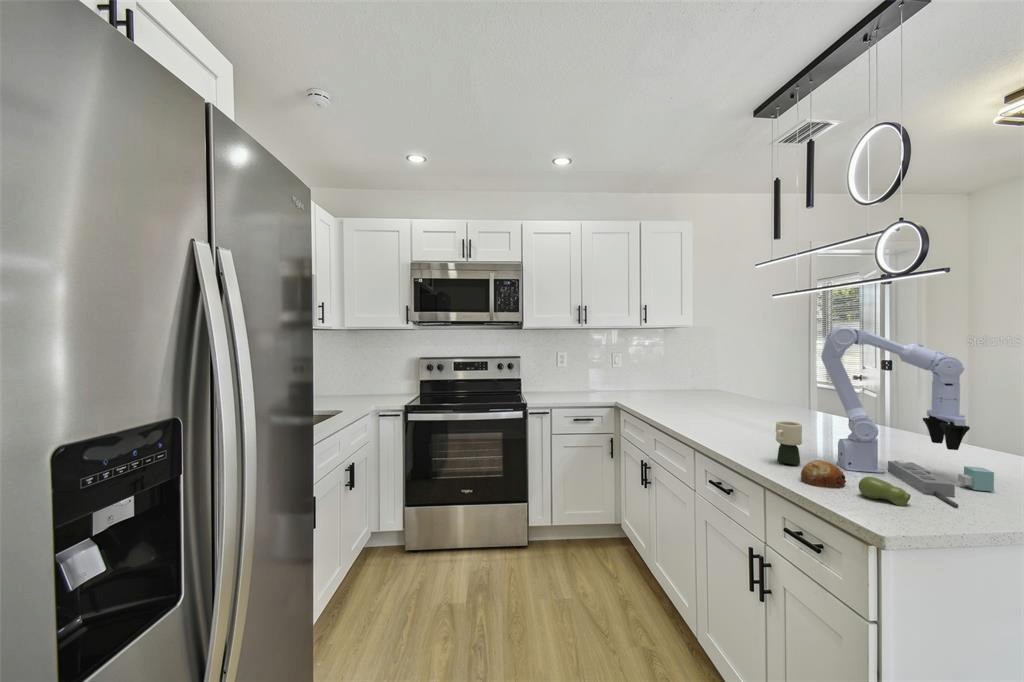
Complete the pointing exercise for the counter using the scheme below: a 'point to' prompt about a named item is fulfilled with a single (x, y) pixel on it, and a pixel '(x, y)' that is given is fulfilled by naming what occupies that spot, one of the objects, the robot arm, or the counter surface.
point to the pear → (883, 491)
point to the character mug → (788, 441)
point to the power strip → (923, 480)
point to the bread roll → (823, 474)
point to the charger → (977, 478)
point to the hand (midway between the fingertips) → (944, 446)
